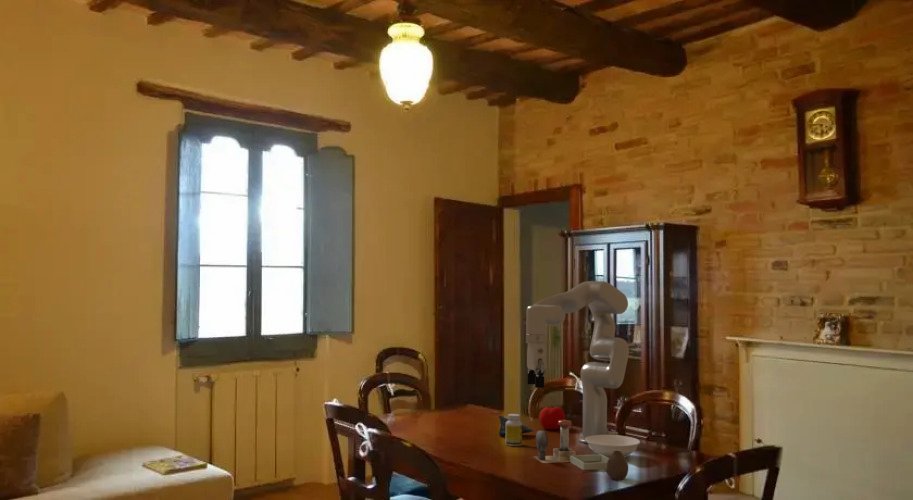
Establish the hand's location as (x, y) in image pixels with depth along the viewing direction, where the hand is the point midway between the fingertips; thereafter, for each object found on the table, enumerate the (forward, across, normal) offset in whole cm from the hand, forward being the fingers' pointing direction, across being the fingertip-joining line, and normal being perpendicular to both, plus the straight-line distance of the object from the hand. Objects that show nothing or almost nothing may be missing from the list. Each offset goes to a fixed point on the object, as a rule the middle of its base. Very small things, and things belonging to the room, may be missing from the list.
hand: (535, 385), depth 286 cm
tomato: (+25, +50, -23) cm, 60 cm away
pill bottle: (+26, +20, +2) cm, 32 cm away
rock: (+26, +38, -3) cm, 46 cm away
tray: (+25, -21, -14) cm, 36 cm away
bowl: (+26, -6, -28) cm, 38 cm away
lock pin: (+24, -10, -8) cm, 27 cm away
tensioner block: (+25, -10, -5) cm, 28 cm away
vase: (+26, -36, -17) cm, 47 cm away
